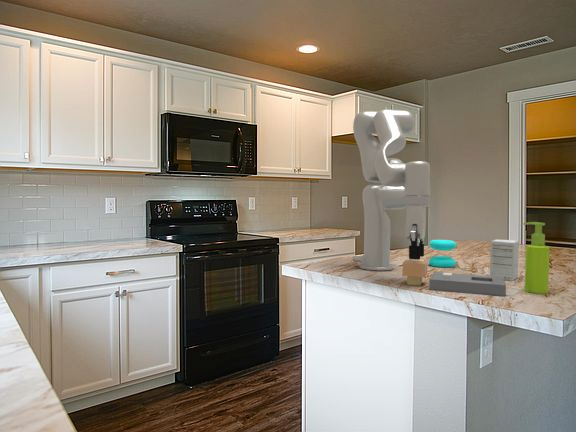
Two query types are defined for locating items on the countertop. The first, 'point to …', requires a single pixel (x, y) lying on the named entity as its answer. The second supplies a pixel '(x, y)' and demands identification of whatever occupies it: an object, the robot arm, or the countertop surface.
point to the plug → (414, 271)
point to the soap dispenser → (537, 262)
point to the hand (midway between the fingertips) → (416, 257)
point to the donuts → (442, 260)
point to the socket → (468, 283)
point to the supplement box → (504, 259)
